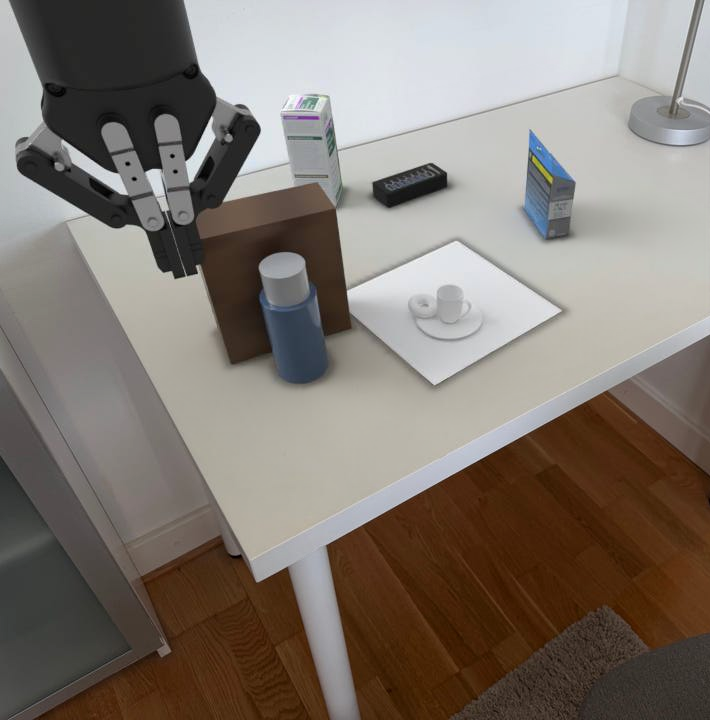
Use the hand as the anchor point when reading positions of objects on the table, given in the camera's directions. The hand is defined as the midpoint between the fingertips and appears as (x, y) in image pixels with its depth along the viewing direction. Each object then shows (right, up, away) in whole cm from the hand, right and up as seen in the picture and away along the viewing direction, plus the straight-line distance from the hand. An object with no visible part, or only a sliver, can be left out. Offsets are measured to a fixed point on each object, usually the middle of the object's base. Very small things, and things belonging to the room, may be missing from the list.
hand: (183, 270), depth 44 cm
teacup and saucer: (+15, +1, +41) cm, 43 cm away
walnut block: (-4, -2, +36) cm, 36 cm away
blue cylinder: (-2, -4, +34) cm, 34 cm away
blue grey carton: (+28, +14, +55) cm, 64 cm away
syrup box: (-5, +18, +58) cm, 61 cm away
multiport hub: (+8, +20, +61) cm, 64 cm away
